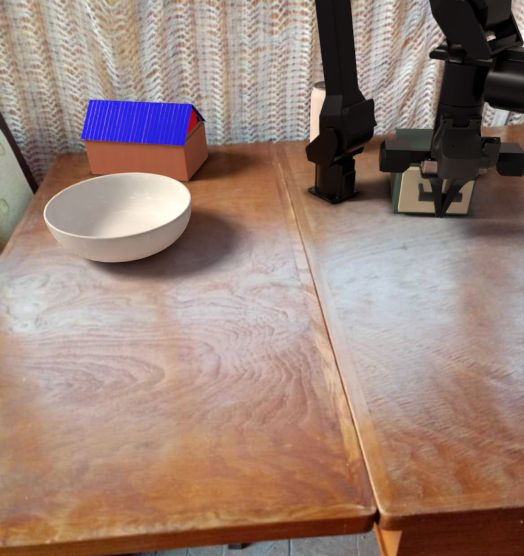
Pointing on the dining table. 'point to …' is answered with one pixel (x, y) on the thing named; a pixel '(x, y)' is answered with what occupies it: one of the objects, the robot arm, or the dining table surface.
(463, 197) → the drawer
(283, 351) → the dining table surface
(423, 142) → the cabinet
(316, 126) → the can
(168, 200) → the serving bowl
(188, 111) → the house
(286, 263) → the dining table surface
